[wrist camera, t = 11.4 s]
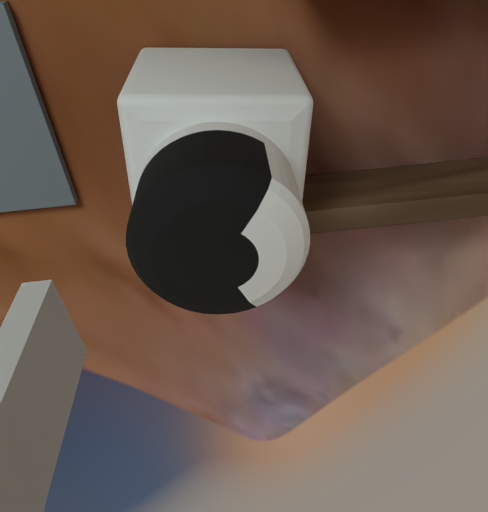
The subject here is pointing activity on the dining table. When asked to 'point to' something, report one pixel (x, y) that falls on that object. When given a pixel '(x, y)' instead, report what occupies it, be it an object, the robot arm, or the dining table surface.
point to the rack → (396, 195)
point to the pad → (26, 133)
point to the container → (216, 174)
